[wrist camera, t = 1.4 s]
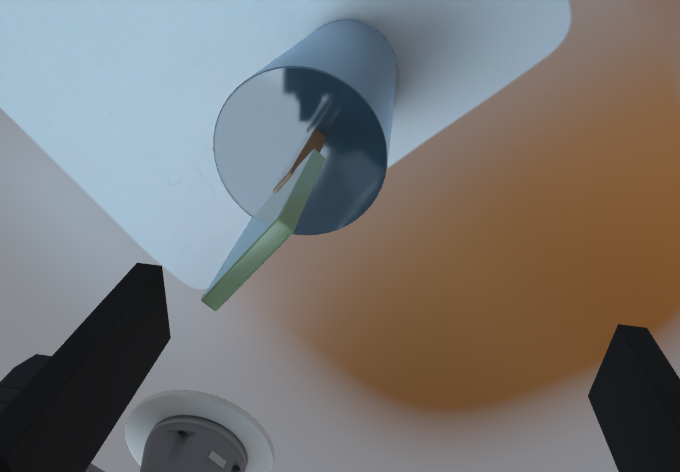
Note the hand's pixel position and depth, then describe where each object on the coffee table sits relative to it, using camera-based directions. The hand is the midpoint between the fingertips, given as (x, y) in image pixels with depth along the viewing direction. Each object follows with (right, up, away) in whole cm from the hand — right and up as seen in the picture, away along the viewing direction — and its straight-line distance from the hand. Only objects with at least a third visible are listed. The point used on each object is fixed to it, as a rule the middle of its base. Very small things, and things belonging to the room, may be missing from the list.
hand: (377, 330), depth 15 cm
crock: (-1, +17, +30) cm, 35 cm away
